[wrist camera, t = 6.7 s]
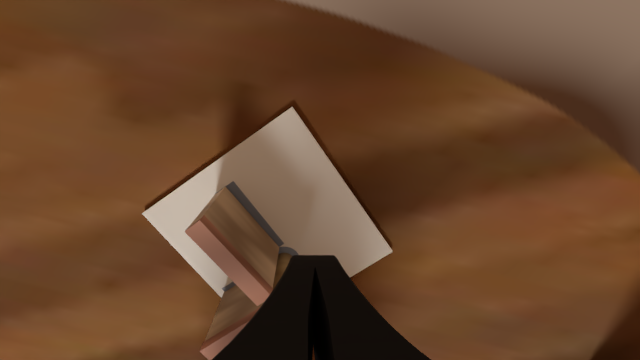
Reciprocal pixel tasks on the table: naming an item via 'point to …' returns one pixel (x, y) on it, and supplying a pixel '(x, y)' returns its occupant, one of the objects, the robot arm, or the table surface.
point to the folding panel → (236, 245)
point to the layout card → (276, 202)
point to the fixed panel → (235, 314)
